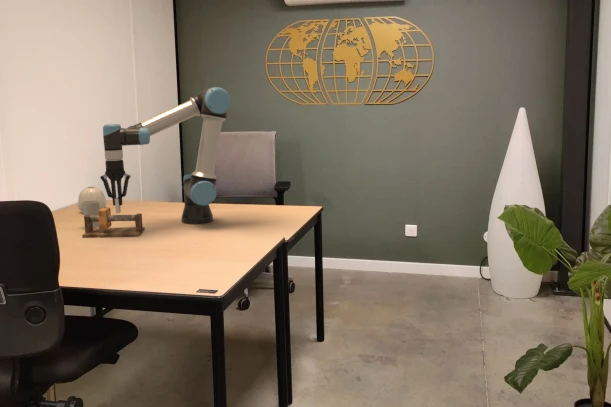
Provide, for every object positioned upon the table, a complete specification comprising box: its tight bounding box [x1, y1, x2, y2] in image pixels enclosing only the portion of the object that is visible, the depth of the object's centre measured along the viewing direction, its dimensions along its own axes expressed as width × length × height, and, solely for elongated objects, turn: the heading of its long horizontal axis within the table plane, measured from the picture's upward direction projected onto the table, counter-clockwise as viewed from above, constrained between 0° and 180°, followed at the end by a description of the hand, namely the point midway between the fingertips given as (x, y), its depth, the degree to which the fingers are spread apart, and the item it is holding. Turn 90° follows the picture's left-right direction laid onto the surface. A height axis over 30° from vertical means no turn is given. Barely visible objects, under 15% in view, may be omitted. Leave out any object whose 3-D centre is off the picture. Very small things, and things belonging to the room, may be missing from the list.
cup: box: [81, 200, 99, 228], centre depth 284 cm, size 8×8×12 cm
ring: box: [98, 206, 112, 230], centre depth 269 cm, size 3×8×8 cm, turn 3°
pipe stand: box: [82, 213, 146, 239], centre depth 270 cm, size 24×14×8 cm, turn 93°
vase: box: [77, 186, 107, 213], centre depth 319 cm, size 14×14×13 cm
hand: (118, 212), depth 269 cm, fingers closed
